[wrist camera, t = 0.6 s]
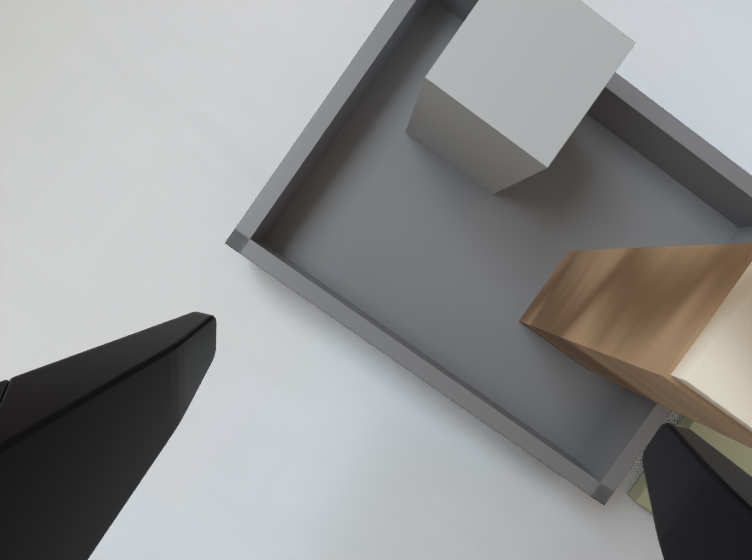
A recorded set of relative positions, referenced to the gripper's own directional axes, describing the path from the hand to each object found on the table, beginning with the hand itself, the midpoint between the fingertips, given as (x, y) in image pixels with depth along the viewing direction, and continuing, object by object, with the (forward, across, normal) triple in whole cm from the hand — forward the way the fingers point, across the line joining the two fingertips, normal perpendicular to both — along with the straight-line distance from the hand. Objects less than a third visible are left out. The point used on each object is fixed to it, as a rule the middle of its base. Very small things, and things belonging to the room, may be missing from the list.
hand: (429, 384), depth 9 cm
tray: (+16, -4, +2) cm, 17 cm away
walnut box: (+15, -9, +5) cm, 18 cm away
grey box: (+18, -1, -3) cm, 18 cm away
